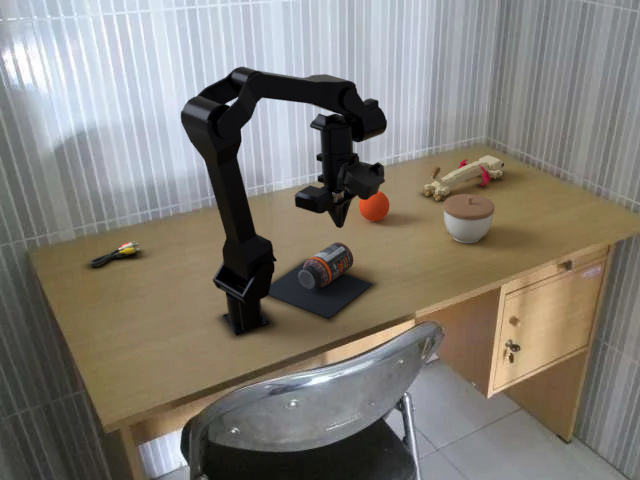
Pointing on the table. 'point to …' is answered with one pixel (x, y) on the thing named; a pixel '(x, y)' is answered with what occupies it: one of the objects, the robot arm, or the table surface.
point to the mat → (318, 293)
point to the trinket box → (468, 217)
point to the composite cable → (116, 253)
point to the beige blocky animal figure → (464, 175)
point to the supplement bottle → (326, 266)
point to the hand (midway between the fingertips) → (339, 227)
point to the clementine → (374, 207)
